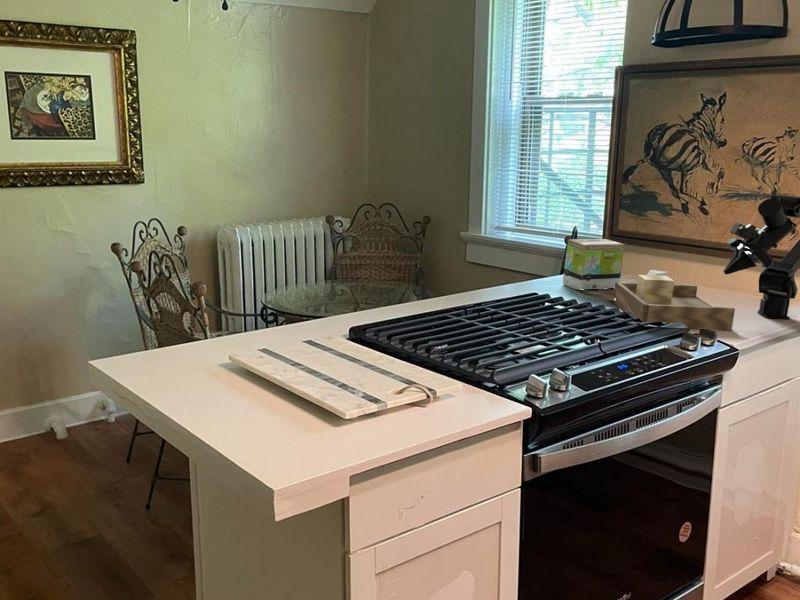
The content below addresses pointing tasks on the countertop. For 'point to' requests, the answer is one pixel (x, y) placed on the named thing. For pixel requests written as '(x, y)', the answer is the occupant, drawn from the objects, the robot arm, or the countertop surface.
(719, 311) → the trap box
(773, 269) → the robot arm
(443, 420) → the countertop surface
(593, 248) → the tea box
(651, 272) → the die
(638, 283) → the maple block
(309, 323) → the countertop surface
